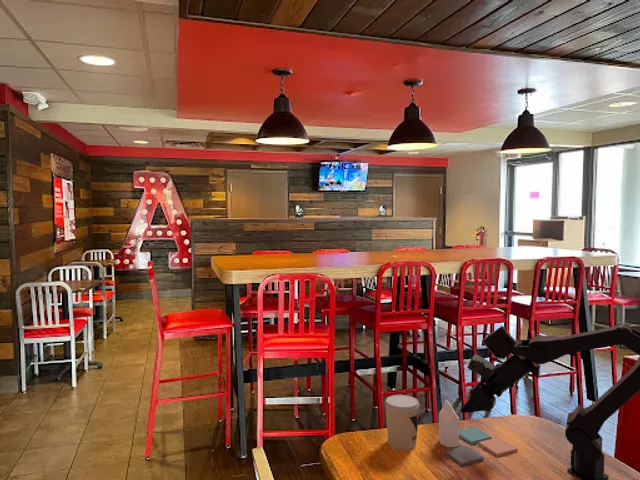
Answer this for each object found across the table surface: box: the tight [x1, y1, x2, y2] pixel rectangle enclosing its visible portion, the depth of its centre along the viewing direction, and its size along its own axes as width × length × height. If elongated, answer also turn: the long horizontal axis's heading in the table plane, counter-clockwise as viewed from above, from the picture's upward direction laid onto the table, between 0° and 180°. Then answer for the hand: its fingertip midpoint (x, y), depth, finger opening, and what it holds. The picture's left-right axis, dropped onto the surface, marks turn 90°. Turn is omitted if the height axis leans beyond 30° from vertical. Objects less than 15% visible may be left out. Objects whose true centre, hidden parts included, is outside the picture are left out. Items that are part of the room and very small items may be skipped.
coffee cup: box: [384, 394, 420, 451], centre depth 133 cm, size 9×9×12 cm
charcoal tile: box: [443, 445, 485, 467], centre depth 125 cm, size 7×7×1 cm
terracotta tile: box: [478, 436, 519, 458], centre depth 130 cm, size 7×7×1 cm
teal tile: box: [459, 426, 493, 445], centre depth 136 cm, size 7×7×1 cm
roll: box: [438, 399, 461, 448], centre depth 133 cm, size 6×12×6 cm
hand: (465, 405), depth 130 cm, fingers open, 9 cm apart
